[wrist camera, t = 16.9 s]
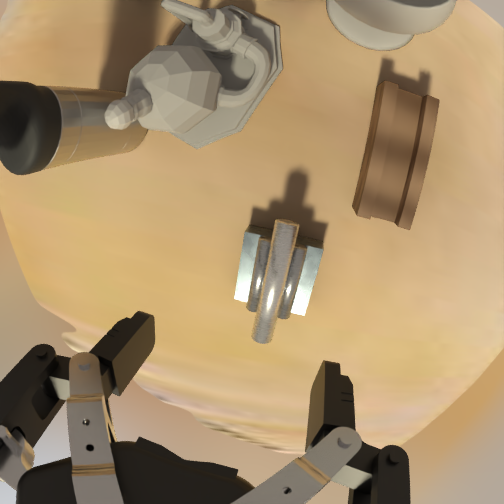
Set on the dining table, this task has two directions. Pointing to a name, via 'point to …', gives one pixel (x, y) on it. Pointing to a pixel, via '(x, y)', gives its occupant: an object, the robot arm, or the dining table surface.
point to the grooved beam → (396, 155)
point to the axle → (274, 279)
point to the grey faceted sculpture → (202, 76)
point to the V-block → (298, 276)
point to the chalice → (387, 20)
